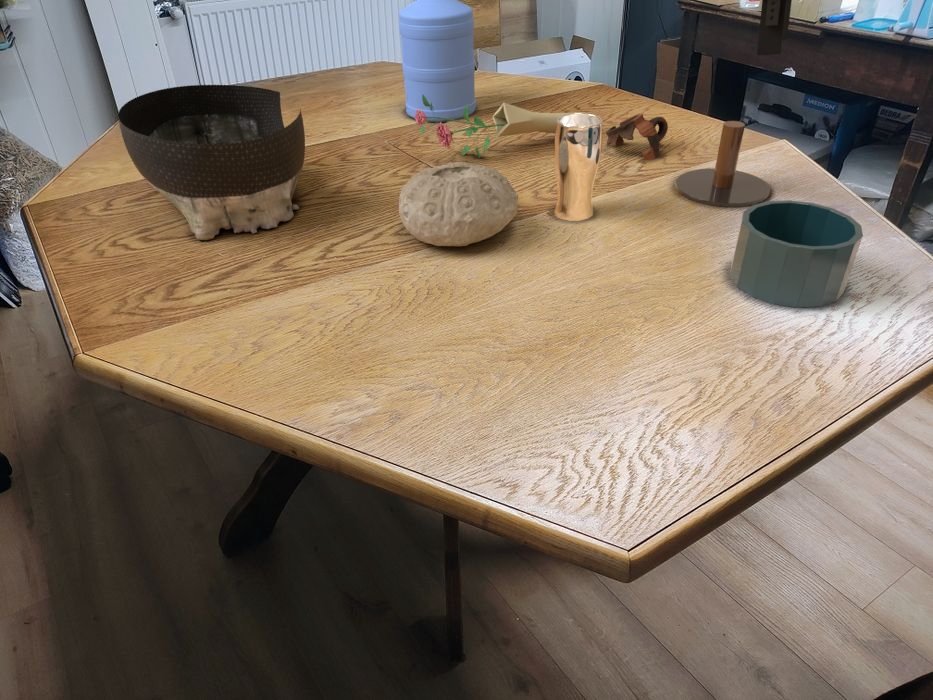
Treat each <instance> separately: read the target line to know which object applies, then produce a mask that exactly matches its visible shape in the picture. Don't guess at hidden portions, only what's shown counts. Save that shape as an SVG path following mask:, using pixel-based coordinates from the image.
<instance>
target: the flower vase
mask: <svg viewBox="0 0 933 700" xmlns="http://www.w3.org/2000/svg"><path fill="white" fill-rule="evenodd" d="M422 101H423V104H424V105H425V106H428V107H430V104H429V103H428V101H427V99H426V98H425V96H424V95H422ZM432 109H434V108H433V106H432V102H431V107H430V110H432ZM432 111H434V110H432ZM468 112H469V107H468V104H467V105H466V106H465V109H464V115H463V118H462V119H464V120H465V121H462V120H458V119H455V120H452V119H447V118H441V117H427V116H426V115H425V113H424V112H423V110H422V111H421V109H420V110H419V109H417V110H416V116H415V118H416V119H415V122H416V124H417V125H418V127H420V128H419V129H420V130H419V135H422V134H423V133H424V131H425V130H427V129H429V128H432V127H433V126H435V125H436V124H438V123H439V124H438V125H437V128H436V129H435V131H436V136H437V137H438V139H437V141H438V142H440V146H442V147H444V148H445V149H448V150H450V149H451V146H450V145H451V143H452V142H453V144H455V141H454V140H453V139H454V138H453V134H456V133H460V132H465V131H466V132H465V133H466V135H467V137H468V138H471V137H472V135H474V136H476V139H475V140H474V142H473V143H472V145H474V144H475V142H476V141H477V143H479V140H478V138H479V136H480V135H481V134H482V133H483V132H484V131H485V130H486V129H487V128H495V130H496V131H495V132H493V133H487V135H486V137H485V138H484V141H483V142H484V144H483V146H482V154H483V155H484V154H485V152H486V150H487V148H488V147H489V145H490V143H491V141H492V140H493V139H495V137H496V136H497V137H498V138H501V137H508V136H515V135H522V134H528V133H529V134H530V133H535V132H536V133H537V132H538V133H547V134H554V135H555V134H556V126H557V119H558V117H560V116H562V115H565V114H570V113H571V112H536V111H532V110H527V109H524V108H521V107H519V106H516V105H513V104H509V103H507V102H503V103H502V104H501V105H500V106H499V108H498V109H497V110H496V111H495V113H494V114H493V115H492V120H493V123H494V124H491V125H487V124H485V123H484V121H483V120H482V119H481V118H479V117H478V116H477V115H475V116H474V117H473V122H471V121H470V115H469V113H468ZM573 113H585V112H584V111H576V112H573ZM433 114H434V113H433ZM427 118H438V119H443V120H444V119H445V120H449V121H450V122H451V121H452V122H455V123H456V122H457V123H462V124H468V125H470V126H469V127H467V128H462V129H458V130H454V131H451V129H450V128H449V127H448V125H447V124H445V125H444V122H440V121H439V122H436V123H433V124H432V125H430V126H428V127H426V128H425V127H424V125H427V123H429V124H431V122H428V121H427ZM441 121H442V120H441ZM474 125H475V126H474ZM479 129H482V130H481V132H480V133H479V134H476V133H477V132H478V131H479ZM494 134H495V135H496V136H494V137H493V138H491V139H490V136H491V135H494ZM470 148H471V146H469V145H468V144H466V145H464V147H463V149H462V150H461V154H462V155H463V156H465V155H466V154H467V153H469V151H470ZM474 151H475V154H476V156H477V158H479V159H481V155H480V152H479V144H477V145H476V146H475V149H474Z"/></svg>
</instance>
